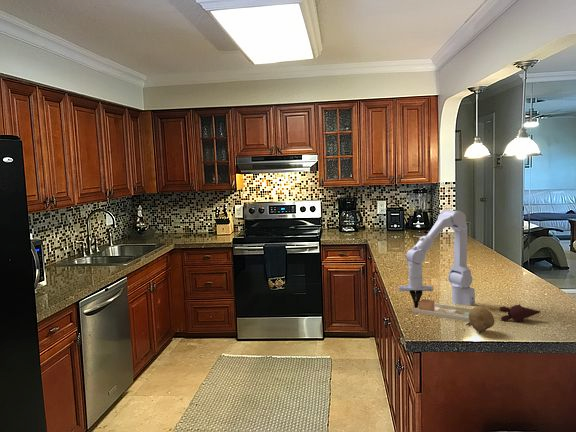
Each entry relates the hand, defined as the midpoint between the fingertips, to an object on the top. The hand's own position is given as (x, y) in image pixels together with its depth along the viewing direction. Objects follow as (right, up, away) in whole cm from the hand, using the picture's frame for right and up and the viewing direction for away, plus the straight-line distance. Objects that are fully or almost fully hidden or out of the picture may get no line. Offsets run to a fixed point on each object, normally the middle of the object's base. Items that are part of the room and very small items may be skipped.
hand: (416, 307), depth 211 cm
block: (+4, -1, -3) cm, 5 cm away
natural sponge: (+18, -5, -27) cm, 33 cm away
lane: (+11, -3, -6) cm, 13 cm away
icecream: (+38, -3, -16) cm, 41 cm away
